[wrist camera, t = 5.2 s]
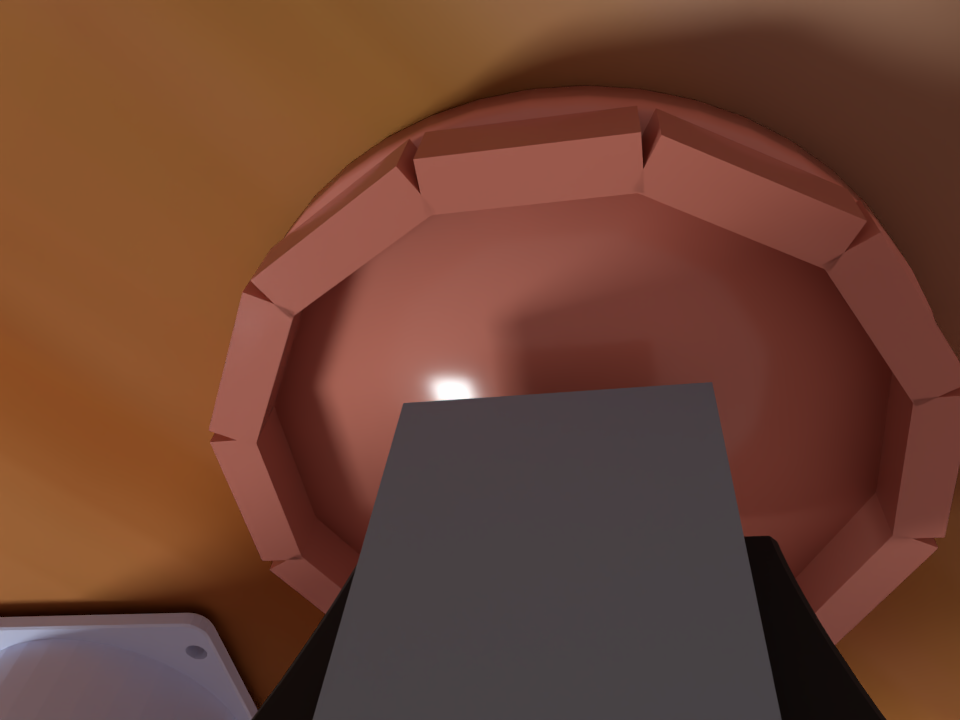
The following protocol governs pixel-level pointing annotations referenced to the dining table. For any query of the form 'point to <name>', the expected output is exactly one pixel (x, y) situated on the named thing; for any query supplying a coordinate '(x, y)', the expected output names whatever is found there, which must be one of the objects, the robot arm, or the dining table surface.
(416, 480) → the slate block
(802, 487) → the terracotta dish
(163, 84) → the dining table surface
